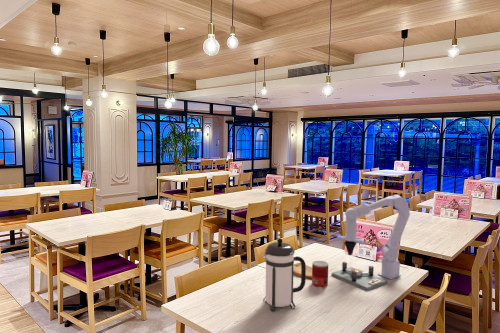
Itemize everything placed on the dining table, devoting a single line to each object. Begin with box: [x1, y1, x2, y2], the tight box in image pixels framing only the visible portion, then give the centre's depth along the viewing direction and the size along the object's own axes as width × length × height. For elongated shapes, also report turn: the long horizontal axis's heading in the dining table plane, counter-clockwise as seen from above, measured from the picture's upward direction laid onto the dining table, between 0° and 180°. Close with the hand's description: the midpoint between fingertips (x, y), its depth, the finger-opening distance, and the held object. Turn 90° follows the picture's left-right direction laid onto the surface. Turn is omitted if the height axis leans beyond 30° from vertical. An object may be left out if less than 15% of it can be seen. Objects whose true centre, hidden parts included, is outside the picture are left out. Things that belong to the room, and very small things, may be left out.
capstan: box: [341, 261, 375, 282], centre depth 181 cm, size 14×16×4 cm
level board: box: [331, 266, 388, 292], centre depth 182 cm, size 16×23×4 cm
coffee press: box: [262, 237, 307, 313], centre depth 153 cm, size 17×16×30 cm
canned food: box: [311, 260, 329, 288], centre depth 175 cm, size 8×8×11 cm
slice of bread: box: [293, 262, 312, 281], centre depth 191 cm, size 18×18×4 cm
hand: (350, 254), depth 190 cm, fingers closed
